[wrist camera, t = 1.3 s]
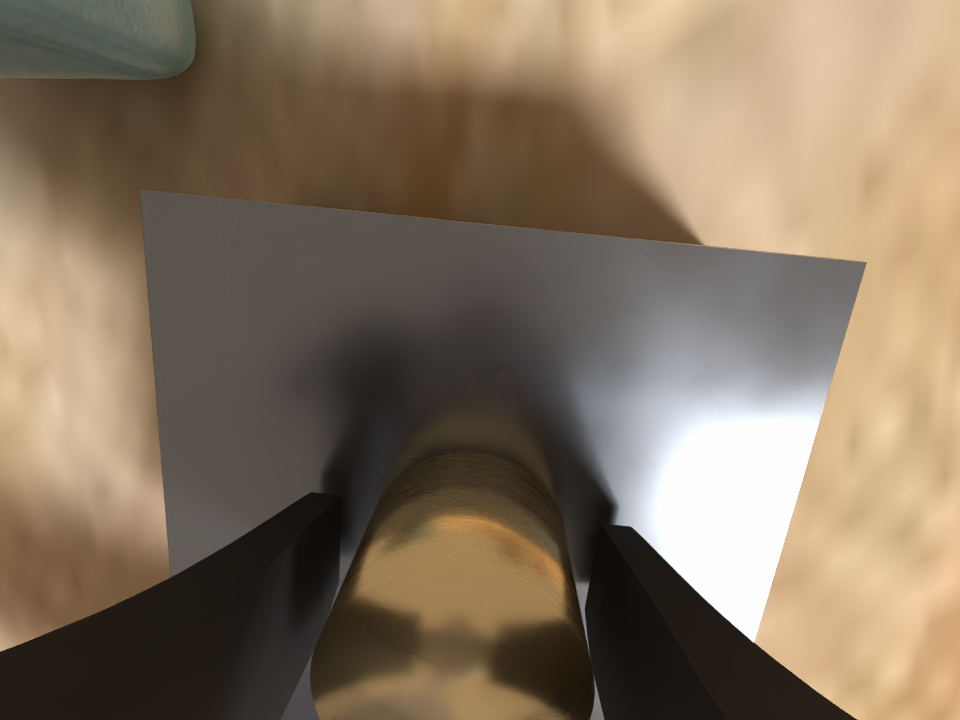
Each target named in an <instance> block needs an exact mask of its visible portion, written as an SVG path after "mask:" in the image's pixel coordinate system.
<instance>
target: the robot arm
mask: <svg viewBox="0 0 960 720" xmlns="http://www.w3.org/2000/svg"><path fill="white" fill-rule="evenodd" d="M341 496H342V495H334V494H325V493H316V492H311V493H309V494H307V495H305V496H304V497H302V498H300V499H299V500H297V501H296V502H294V503H293V504H291V505H289V506H288V507H286V508H285V509H283V510H282V511H280V512H279V513H277V514H276V515H274V516H273V517H271V518H270V519H268V520H267V521H265V522H263V523H262V524H260V525H259V526H257V527H256V528H254V529H252V530H251V531H249V532H248V533H246V534H245V535H243V536H241V537H240V538H238V539H237V540H235V541H234V542H232V543H230V544H229V545H227V546H225V547H223V548H222V549H220V550H218V551H216V552H215V553H213V554H211V555H210V556H208V557H206V558H204V559H203V560H201V561H199V562H197V563H196V564H194V565H192V566H190V567H189V568H187V569H185V570H184V571H182V572H180V573H178V574H176V575H174V576H173V577H171V578H169V579H167V580H165V581H163V582H161V583H159V584H157V585H155V586H153V587H151V588H149V589H147V590H145V591H143V592H141V593H139V594H137V595H135V596H133V597H131V598H128V599H126V600H124V601H122V602H120V603H118V604H116V605H114V606H112V607H109V608H107V609H105V610H103V611H100V612H98V613H96V614H93V615H91V616H89V617H86V618H84V619H81V620H79V621H76V622H74V623H71V624H69V625H67V626H64V627H62V628H59V629H57V630H54V631H52V632H50V633H47V634H45V635H42V636H40V637H37V638H35V639H33V640H30V641H28V642H25V643H23V644H20V645H17V646H15V647H12V648H9V649H6V650H4V651H1V652H0V720H281V718H282V716H283V713H284V711H285V709H286V707H287V705H288V703H289V701H290V699H291V697H292V695H293V693H294V691H295V689H296V686H297V684H298V682H299V680H300V678H301V676H302V674H303V672H304V670H305V668H306V666H307V663H308V661H309V659H310V657H311V655H312V653H313V651H314V648H315V645H316V643H317V641H318V639H319V636H320V634H321V632H322V629H323V627H324V625H325V622H326V620H327V617H328V615H329V612H330V609H331V606H332V603H333V600H334V597H335V594H336V591H337V588H338V585H339V573H340V534H341ZM584 610H585V619H586V628H587V637H588V645H589V653H590V660H591V665H592V670H593V674H594V678H595V682H596V687H597V691H598V695H599V699H600V704H601V708H602V712H603V716H604V720H857V719H855V718H854V717H852V716H851V715H849V714H848V713H846V712H845V711H843V710H842V709H840V708H839V707H838V706H836V705H835V704H833V703H832V702H831V701H829V700H828V699H826V698H825V697H824V696H822V695H821V694H819V693H818V692H817V691H815V690H814V689H813V688H811V687H810V686H809V685H807V684H806V683H805V682H803V681H802V680H801V679H800V678H798V677H797V676H796V675H794V674H793V673H792V672H790V671H789V670H788V669H786V668H785V667H784V666H783V665H781V664H780V663H779V662H777V661H776V660H775V659H773V658H772V657H771V656H770V655H768V654H767V653H766V652H765V651H764V650H762V649H761V648H760V647H759V646H757V645H756V644H755V643H754V642H753V641H751V640H750V639H749V638H748V637H747V636H746V635H745V634H743V633H742V632H741V631H740V630H739V629H738V628H737V627H735V626H734V625H733V624H732V623H731V622H730V621H729V620H727V619H726V618H725V617H724V616H723V615H722V614H721V613H720V612H718V611H717V610H716V609H715V608H714V607H713V606H712V605H711V604H710V603H709V602H708V601H707V600H706V599H704V598H703V597H702V596H701V595H700V594H699V593H698V592H697V591H696V590H695V589H694V588H693V587H692V586H691V585H690V584H689V583H688V582H687V581H686V580H685V579H684V578H683V577H682V576H681V575H680V574H679V573H678V572H677V571H676V570H675V569H674V568H673V567H672V566H671V565H670V564H669V563H668V562H667V561H666V560H665V559H664V558H663V557H662V556H661V555H660V554H659V553H658V552H657V551H656V550H655V549H654V548H653V547H652V546H651V545H650V544H649V543H648V542H647V541H646V540H645V539H644V538H643V537H642V536H641V535H640V534H639V533H638V532H637V531H636V530H634V529H633V528H632V527H631V526H622V525H612V524H603V523H600V527H599V532H598V538H597V543H596V549H595V554H594V560H593V565H592V571H591V576H590V582H589V587H588V593H587V598H586V604H585V609H584Z"/></svg>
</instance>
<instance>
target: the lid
mask: <svg viewBox="0 0 960 720" xmlns="http://www.w3.org/2000/svg"><path fill="white" fill-rule="evenodd" d="M140 198H141V210H142V223H143V235H144V248H145V261H146V273H147V286H148V298H149V311H150V323H151V336H152V349H153V361H154V374H155V386H156V399H157V411H158V424H159V437H160V449H161V462H162V474H163V487H164V500H165V512H166V525H167V537H168V550H169V562H170V575H171V577H173V576H174V575H176V574H178V573H180V572H182V571H184V570H185V569H187V568H189V567H190V566H192V565H194V564H196V563H197V562H199V561H201V560H203V559H204V558H206V557H208V556H210V555H211V554H213V553H215V552H216V551H218V550H220V549H222V548H223V547H225V546H227V545H229V544H230V543H232V542H234V541H235V540H237V539H238V538H240V537H241V536H243V535H245V534H246V533H248V532H249V531H251V530H252V529H254V528H256V527H257V526H259V525H260V524H262V523H263V522H265V521H267V520H268V519H270V518H271V517H273V516H274V515H276V514H277V513H279V512H280V511H282V510H283V509H285V508H286V507H288V506H289V505H291V504H293V503H294V502H296V501H297V500H299V499H300V498H302V497H304V496H305V495H307V494H309V493H311V492H316V493H325V494H334V495H342V496H341V534H340V573H339V585H338V588H337V591H336V594H335V597H334V600H333V603H332V606H331V609H330V612H329V615H328V617H327V620H326V622H325V625H324V627H323V629H322V632H321V634H320V636H319V639H318V641H317V643H316V645H315V648H314V651H313V653H312V655H311V657H310V659H309V661H308V663H307V666H306V668H305V670H304V672H303V674H302V676H301V678H300V680H299V682H298V684H297V686H296V689H295V691H294V693H293V695H292V697H291V699H290V701H289V703H288V705H287V707H286V709H285V711H284V713H283V716H282V718H281V720H604V716H603V712H602V708H601V704H600V699H599V695H598V691H597V687H596V682H595V678H594V674H593V670H592V665H591V660H590V653H589V645H588V637H587V628H586V619H585V610H584V609H585V604H586V598H587V593H588V587H589V582H590V576H591V571H592V565H593V560H594V554H595V549H596V543H597V538H598V532H599V527H600V523H603V524H612V525H622V526H631V527H632V528H633V529H634V530H636V531H637V532H638V533H639V534H640V535H641V536H642V537H643V538H644V539H645V540H646V541H647V542H648V543H649V544H650V545H651V546H652V547H653V548H654V549H655V550H656V551H657V552H658V553H659V554H660V555H661V556H662V557H663V558H664V559H665V560H666V561H667V562H668V563H669V564H670V565H671V566H672V567H673V568H674V569H675V570H676V571H677V572H678V573H679V574H680V575H681V576H682V577H683V578H684V579H685V580H686V581H687V582H688V583H689V584H690V585H691V586H692V587H693V588H694V589H695V590H696V591H697V592H698V593H699V594H700V595H701V596H702V597H703V598H704V599H706V600H707V601H708V602H709V603H710V604H711V605H712V606H713V607H714V608H715V609H716V610H717V611H718V612H720V613H721V614H722V615H723V616H724V617H725V618H726V619H727V620H729V621H730V622H731V623H732V624H733V625H734V626H735V627H737V628H738V629H739V630H740V631H741V632H742V633H743V634H745V635H746V636H747V637H748V638H749V639H750V640H751V641H753V642H754V640H755V637H756V633H757V630H758V627H759V623H760V620H761V616H762V613H763V610H764V606H765V603H766V600H767V596H768V593H769V590H770V586H771V583H772V579H773V576H774V573H775V569H776V566H777V563H778V559H779V556H780V552H781V549H782V546H783V542H784V539H785V536H786V532H787V529H788V526H789V522H790V519H791V515H792V512H793V509H794V505H795V502H796V499H797V495H798V492H799V488H800V485H801V482H802V478H803V475H804V472H805V468H806V465H807V462H808V458H809V455H810V451H811V448H812V445H813V441H814V438H815V435H816V431H817V428H818V424H819V421H820V418H821V414H822V411H823V408H824V404H825V401H826V398H827V394H828V391H829V387H830V384H831V381H832V377H833V374H834V371H835V367H836V364H837V360H838V357H839V354H840V350H841V347H842V344H843V340H844V337H845V334H846V330H847V327H848V323H849V320H850V317H851V313H852V310H853V307H854V303H855V300H856V297H857V293H858V290H859V286H860V283H861V280H862V276H863V273H864V270H865V266H866V263H867V262H859V261H851V260H843V259H834V258H824V257H814V256H804V255H794V254H785V253H775V252H765V251H755V250H745V249H735V248H725V247H715V246H705V245H695V244H685V243H675V242H665V241H655V240H645V239H635V238H625V237H615V236H605V235H595V234H585V233H575V232H565V231H555V230H545V229H535V228H526V227H516V226H506V225H496V224H486V223H476V222H466V221H456V220H446V219H436V218H426V217H416V216H406V215H396V214H386V213H376V212H366V211H356V210H346V209H336V208H326V207H316V206H306V205H296V204H286V203H276V202H267V201H257V200H247V199H237V198H227V197H217V196H207V195H197V194H187V193H177V192H166V191H153V190H140Z"/></svg>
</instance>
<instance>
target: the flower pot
mask: <svg viewBox="0 0 960 720" xmlns="http://www.w3.org/2000/svg"><path fill="white" fill-rule="evenodd" d="M195 49H196V32H195V24H194V17H193V9H192V2H191V0H0V79H129V80H150V79H164V78H169V77H173V76H176V75H179V74H181V73H182V72H184V71H185V70H186V69H188V68H189V66H190V65H191V64H192V61H193V59H194V56H195Z"/></svg>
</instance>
